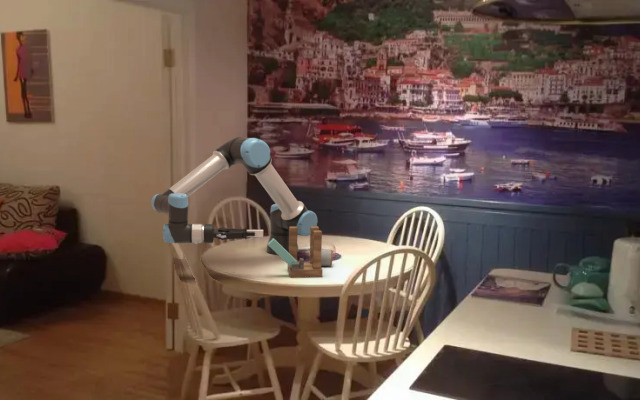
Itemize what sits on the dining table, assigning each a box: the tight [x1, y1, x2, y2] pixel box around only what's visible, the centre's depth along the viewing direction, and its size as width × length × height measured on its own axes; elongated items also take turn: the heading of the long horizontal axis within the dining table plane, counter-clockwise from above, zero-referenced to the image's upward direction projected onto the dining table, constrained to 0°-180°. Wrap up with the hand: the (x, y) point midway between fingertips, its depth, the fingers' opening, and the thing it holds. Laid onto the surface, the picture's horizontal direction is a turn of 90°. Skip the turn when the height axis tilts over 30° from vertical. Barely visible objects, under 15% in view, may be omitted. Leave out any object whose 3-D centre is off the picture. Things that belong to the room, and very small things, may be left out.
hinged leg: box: [267, 238, 299, 268], centre depth 251 cm, size 3×3×15 cm
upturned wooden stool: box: [287, 225, 323, 279], centre depth 256 cm, size 14×13×18 cm
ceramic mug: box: [321, 248, 334, 267], centre depth 271 cm, size 11×8×8 cm
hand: (263, 233), depth 249 cm, fingers closed
